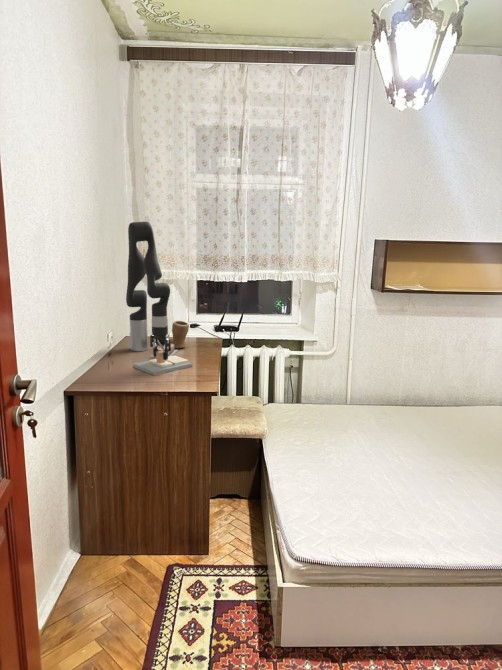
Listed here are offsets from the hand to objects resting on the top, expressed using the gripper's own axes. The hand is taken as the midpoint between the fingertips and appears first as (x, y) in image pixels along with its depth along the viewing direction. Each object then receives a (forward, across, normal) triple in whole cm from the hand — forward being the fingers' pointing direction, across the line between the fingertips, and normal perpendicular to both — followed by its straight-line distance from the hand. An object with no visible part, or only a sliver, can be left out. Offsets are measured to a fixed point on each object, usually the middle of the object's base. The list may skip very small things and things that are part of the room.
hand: (160, 358), depth 213 cm
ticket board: (+5, 0, +2) cm, 5 cm away
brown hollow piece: (+4, -29, +31) cm, 43 cm away
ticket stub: (+3, 0, 0) cm, 3 cm away
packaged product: (+5, -19, +15) cm, 25 cm away
